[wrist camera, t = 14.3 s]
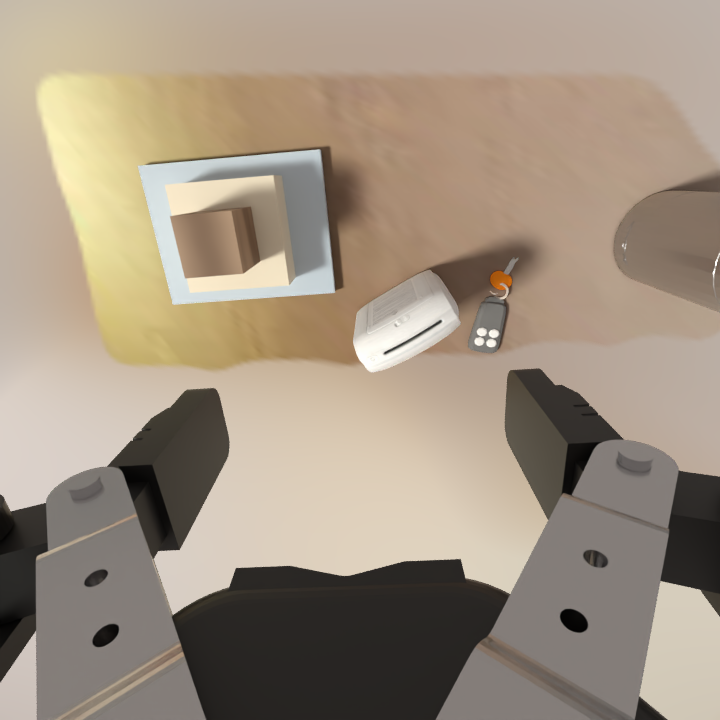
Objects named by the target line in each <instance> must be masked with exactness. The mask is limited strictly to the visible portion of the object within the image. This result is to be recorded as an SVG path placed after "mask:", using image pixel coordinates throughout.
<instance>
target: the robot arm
mask: <svg viewBox="0 0 720 720" xmlns="http://www.w3.org/2000/svg"><path fill="white" fill-rule="evenodd" d="M614 255H615V260H616V262H617V264H618V266H619V268H620V269H621V270H622V272H623V273H624V274H625V275H627V276H628V277H630V278H631V279H634V280H636V281H639V282H641V283H644V284H646V285H649V286H652V287H654V288H656V289H659V290H662V291H664V292H667V293H670V294H672V295H675V296H678V297H680V298H683V299H686V300H688V301H691V302H694V303H696V304H699V305H702V306H704V307H707V308H709V309H712V310H715V311H717V312H720V192H704V191H675V190H674V191H663V192H660V193H656V194H653V195H651V196H649V197H647V198H645V199H643V200H642V201H641V202H639V203H638V204H637V205H635V206H634V207H633V208H632V209H631V210H630V211H629V212H628V213H627V215H626V216H625V218H624V219H623V220H622V222H621V224H620V226H619V228H618V230H617V233H616V237H615V241H614ZM505 432H506V437H507V441H508V444H509V446H510V448H511V450H512V452H513V454H514V456H515V457H516V459H517V461H518V463H519V465H520V467H521V469H522V471H523V473H524V475H525V477H526V478H527V480H528V482H529V484H530V486H531V488H532V490H533V492H534V494H535V496H536V498H537V499H538V501H539V503H540V505H541V507H542V509H543V511H544V513H545V515H546V517H547V519H548V522H547V524H546V526H545V528H544V530H543V532H542V534H541V536H540V538H539V540H538V542H537V544H536V546H535V547H534V550H533V551H532V553H531V555H530V557H529V559H528V561H527V563H526V565H525V567H524V569H523V571H522V573H521V575H520V577H519V579H518V581H517V582H516V584H515V586H514V588H513V590H512V592H511V594H509V593H506V592H505V591H503V590H501V589H498V588H496V587H493V586H491V585H489V584H485V583H482V582H479V581H475V580H471V579H466V578H465V575H464V571H463V567H462V563H461V559H455V560H430V561H406V562H401V563H397V564H393V565H389V566H386V567H382V568H378V569H374V570H370V571H366V572H363V573H359V574H355V575H351V576H339V575H334V574H328V573H323V572H318V571H313V570H308V569H303V568H298V567H293V566H278V567H254V568H236V570H235V573H234V576H233V578H232V581H231V584H230V587H229V588H226V589H222V590H220V591H217V592H214V593H212V594H209V595H207V596H205V597H203V598H201V599H198V600H196V601H195V602H193V603H191V604H190V605H188V606H186V607H184V608H183V609H181V610H180V611H178V612H177V613H176V614H174V615H173V614H172V611H171V609H170V606H169V603H168V600H167V597H166V594H165V591H164V588H163V586H162V582H161V579H160V576H159V574H158V571H157V568H156V565H155V562H154V557H155V555H156V554H157V552H158V551H165V550H166V551H167V550H180V548H181V546H182V544H183V542H184V541H185V539H186V537H187V535H188V533H189V531H190V529H191V527H192V525H193V523H194V521H195V519H196V517H197V515H198V514H199V512H200V510H201V508H202V506H203V504H204V502H205V500H206V498H207V496H208V494H209V492H210V490H211V489H212V487H213V485H214V483H215V481H216V479H217V477H218V475H219V473H220V471H221V469H222V467H223V465H224V463H225V462H226V459H227V457H228V453H229V436H228V431H227V427H226V423H225V418H224V414H223V410H222V406H221V401H220V397H219V394H218V392H217V390H216V389H214V388H210V389H209V388H208V389H193V390H186V391H185V392H184V393H183V394H182V395H181V396H180V397H179V398H178V400H177V401H176V402H175V403H174V404H173V405H172V406H171V407H170V408H167V409H166V410H164V411H162V412H161V413H159V414H158V415H156V416H154V417H153V418H151V420H150V421H149V422H148V423H147V424H146V425H145V426H144V427H143V428H142V431H140V432H139V433H138V434H137V435H136V436H135V437H134V438H133V441H130V442H129V443H128V444H127V446H126V447H125V448H124V449H123V450H122V451H121V452H120V453H119V454H118V455H117V456H116V457H115V458H114V460H113V461H112V462H111V463H110V464H109V465H108V466H107V467H99V468H94V469H90V470H87V471H84V472H81V473H79V474H76V475H74V476H72V477H70V478H69V479H67V480H65V481H64V482H62V483H61V484H59V485H58V486H57V487H56V488H54V490H52V491H51V493H50V494H49V495H48V497H47V500H46V503H44V504H40V505H36V506H32V507H28V508H24V509H19V510H15V511H12V512H11V511H10V509H9V507H8V505H7V504H6V501H5V499H4V497H3V496H2V495H0V682H1V681H2V679H3V678H4V676H5V675H6V673H7V672H8V670H9V669H10V668H11V666H12V664H13V663H14V662H15V660H16V659H17V657H18V656H19V654H20V653H21V652H22V650H23V649H24V647H25V646H26V644H27V643H28V641H29V640H30V638H31V637H32V636H33V634H34V633H35V631H36V658H37V659H36V661H37V663H36V664H37V720H667V719H666V718H665V717H664V716H662V715H661V714H660V713H659V712H658V711H656V710H655V709H654V708H652V707H651V706H650V705H649V704H648V703H647V702H645V701H644V700H643V699H642V698H641V697H639V693H640V688H641V683H642V677H643V672H644V666H645V660H646V656H647V650H648V644H649V639H650V633H651V628H652V622H653V617H654V612H655V607H656V601H657V596H658V590H659V584H660V581H663V582H668V583H673V584H677V585H682V586H687V587H691V588H695V589H700V590H701V591H702V593H703V594H704V596H705V597H706V599H707V600H708V601H709V603H710V604H711V605H712V607H713V608H714V609H715V611H716V612H717V613H718V615H719V616H720V477H718V476H710V475H703V474H696V473H688V472H683V471H678V466H677V464H676V462H675V461H674V460H673V459H672V458H671V457H670V456H668V455H667V454H666V453H664V452H663V451H661V450H659V449H657V448H655V447H652V446H650V445H647V444H643V443H640V442H636V441H629V440H624V439H623V438H622V437H621V436H620V435H619V434H618V433H617V432H616V431H615V430H614V429H613V428H612V427H611V426H610V425H609V424H608V423H607V422H606V421H605V420H604V419H603V418H602V417H601V416H600V415H598V413H597V412H596V411H595V410H594V409H593V408H592V407H591V406H589V403H588V402H587V401H586V400H585V399H584V398H583V397H582V396H581V395H580V394H578V393H577V392H574V391H573V390H571V389H569V388H567V387H565V386H563V385H554V384H553V382H552V381H551V380H550V379H549V378H548V377H547V376H546V375H545V374H544V372H543V371H542V370H541V369H524V370H511V371H509V374H508V378H507V393H506V410H505Z"/></svg>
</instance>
